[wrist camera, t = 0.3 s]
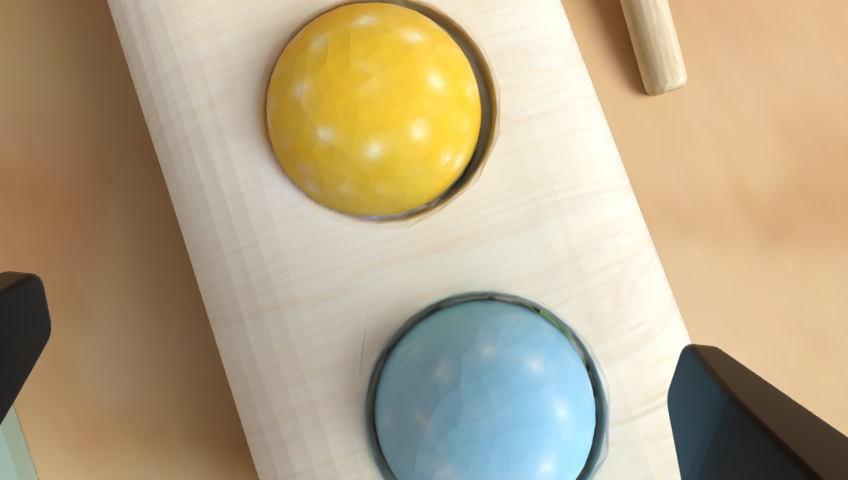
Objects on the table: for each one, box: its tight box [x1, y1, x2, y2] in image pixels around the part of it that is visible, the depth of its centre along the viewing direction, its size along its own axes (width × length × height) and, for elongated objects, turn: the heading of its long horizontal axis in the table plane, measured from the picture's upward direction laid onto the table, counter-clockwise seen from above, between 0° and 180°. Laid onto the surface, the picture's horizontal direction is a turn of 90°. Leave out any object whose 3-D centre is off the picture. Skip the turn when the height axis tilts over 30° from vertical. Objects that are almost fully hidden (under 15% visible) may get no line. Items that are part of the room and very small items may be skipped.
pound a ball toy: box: [107, 0, 692, 480], centre depth 19 cm, size 28×18×12 cm, turn 18°
